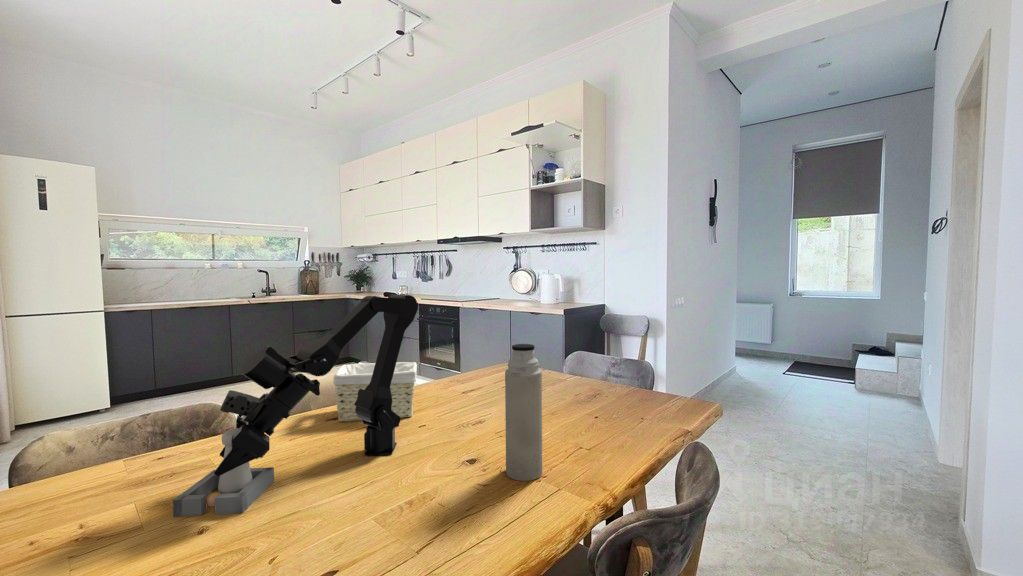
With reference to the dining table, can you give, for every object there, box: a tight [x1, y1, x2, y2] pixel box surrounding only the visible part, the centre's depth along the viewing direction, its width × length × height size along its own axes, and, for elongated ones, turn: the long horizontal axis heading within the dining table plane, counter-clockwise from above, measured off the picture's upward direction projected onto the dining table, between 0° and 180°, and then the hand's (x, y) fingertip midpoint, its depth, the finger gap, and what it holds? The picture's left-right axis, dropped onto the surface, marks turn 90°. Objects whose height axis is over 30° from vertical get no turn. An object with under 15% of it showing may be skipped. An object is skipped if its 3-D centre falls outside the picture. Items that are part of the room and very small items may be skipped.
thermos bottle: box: [504, 343, 543, 482], centre depth 92 cm, size 8×8×28 cm
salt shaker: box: [217, 427, 253, 494], centre depth 84 cm, size 6×6×13 cm
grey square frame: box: [172, 466, 275, 517], centre depth 83 cm, size 12×12×3 cm
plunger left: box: [206, 492, 220, 507], centre depth 79 cm, size 2×2×2 cm
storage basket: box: [333, 361, 418, 422], centre depth 133 cm, size 24×16×15 cm
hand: (218, 464), depth 82 cm, fingers open, 9 cm apart
